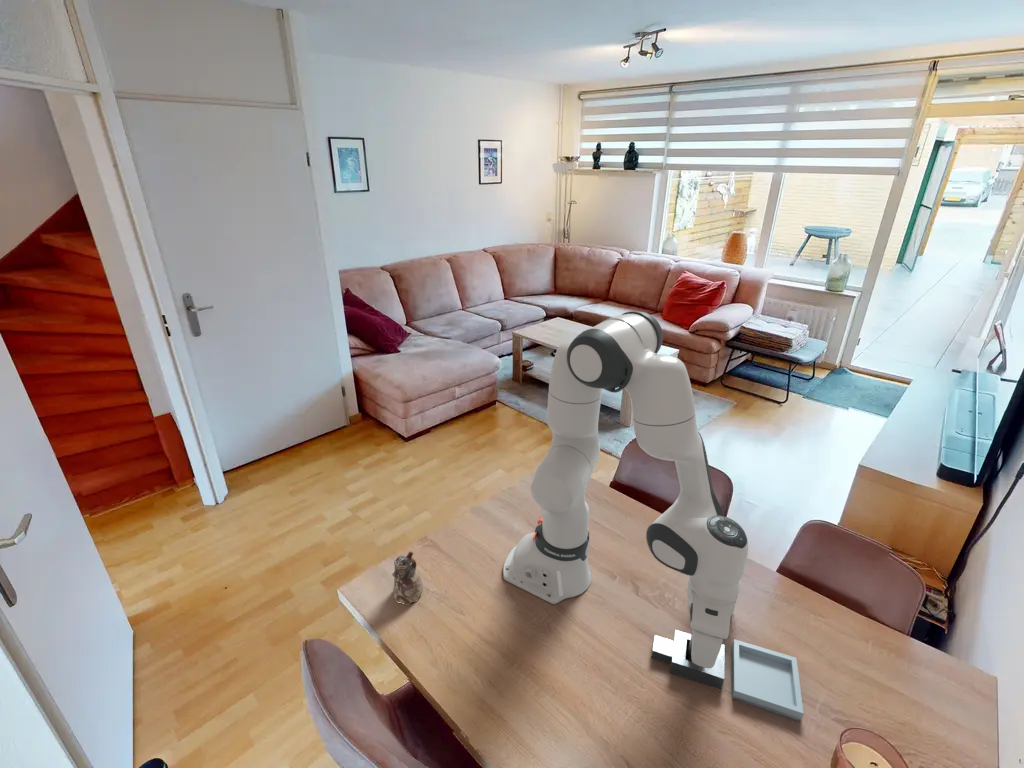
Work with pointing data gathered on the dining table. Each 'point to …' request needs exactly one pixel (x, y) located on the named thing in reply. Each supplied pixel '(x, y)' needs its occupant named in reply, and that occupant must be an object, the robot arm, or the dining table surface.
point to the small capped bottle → (690, 649)
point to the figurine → (406, 580)
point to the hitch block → (675, 656)
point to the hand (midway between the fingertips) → (699, 640)
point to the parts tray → (766, 679)
